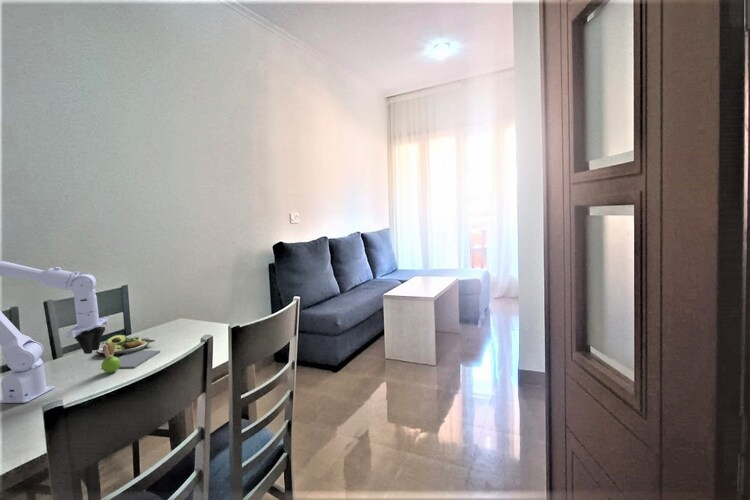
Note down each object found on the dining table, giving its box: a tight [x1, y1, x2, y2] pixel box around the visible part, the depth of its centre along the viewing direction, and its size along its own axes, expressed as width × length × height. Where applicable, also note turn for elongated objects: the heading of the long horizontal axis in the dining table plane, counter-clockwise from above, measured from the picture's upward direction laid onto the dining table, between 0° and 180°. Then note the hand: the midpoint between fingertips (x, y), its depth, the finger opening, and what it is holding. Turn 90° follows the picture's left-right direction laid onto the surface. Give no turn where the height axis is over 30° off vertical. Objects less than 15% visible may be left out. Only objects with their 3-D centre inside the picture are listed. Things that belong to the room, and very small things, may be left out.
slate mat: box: [118, 350, 161, 369], centre depth 140 cm, size 15×12×1 cm
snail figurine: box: [100, 341, 121, 373], centre depth 128 cm, size 5×6×12 cm
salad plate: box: [95, 334, 156, 357], centre depth 152 cm, size 19×18×5 cm
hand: (91, 351), depth 121 cm, fingers open, 2 cm apart
